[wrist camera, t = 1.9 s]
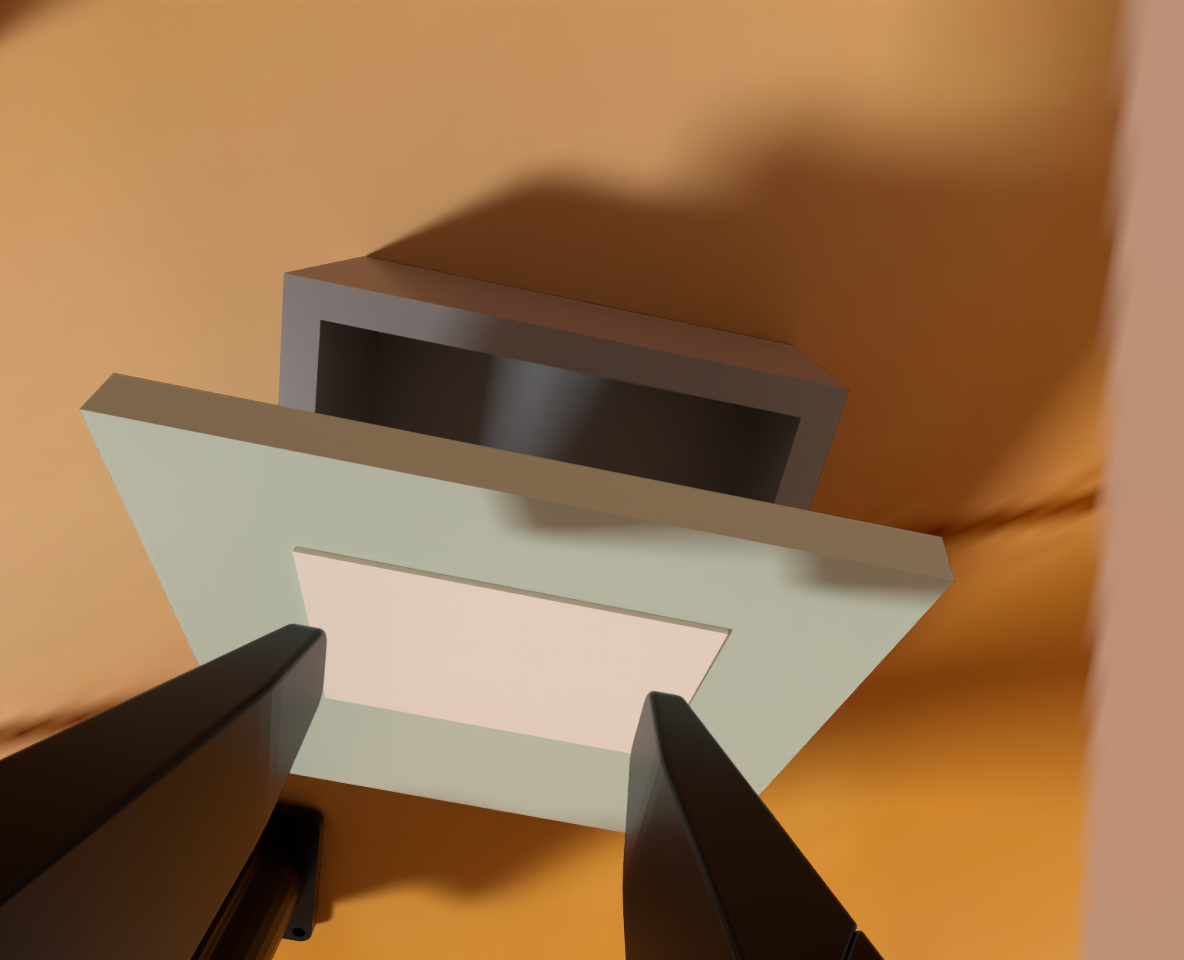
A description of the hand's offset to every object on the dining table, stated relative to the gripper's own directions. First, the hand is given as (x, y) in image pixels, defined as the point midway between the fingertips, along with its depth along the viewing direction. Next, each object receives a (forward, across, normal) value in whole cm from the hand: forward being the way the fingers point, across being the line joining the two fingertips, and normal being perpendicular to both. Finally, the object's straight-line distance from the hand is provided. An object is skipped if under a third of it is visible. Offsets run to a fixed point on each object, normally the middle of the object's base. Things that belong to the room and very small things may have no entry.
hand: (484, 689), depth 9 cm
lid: (+5, 0, +3) cm, 6 cm away
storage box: (+13, 0, +3) cm, 13 cm away
